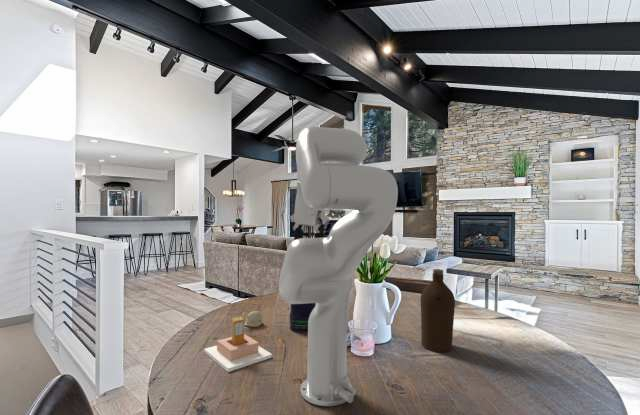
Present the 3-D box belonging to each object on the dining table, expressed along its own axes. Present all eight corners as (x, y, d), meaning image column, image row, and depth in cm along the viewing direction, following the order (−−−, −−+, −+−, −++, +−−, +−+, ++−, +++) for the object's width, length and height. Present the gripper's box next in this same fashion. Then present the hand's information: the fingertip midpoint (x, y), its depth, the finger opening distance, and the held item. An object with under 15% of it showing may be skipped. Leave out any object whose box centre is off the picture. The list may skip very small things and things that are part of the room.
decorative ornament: (265, 324, 128) (265, 310, 128) (243, 329, 123) (243, 314, 123) (260, 321, 131) (260, 307, 131) (239, 325, 126) (240, 311, 126)
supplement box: (230, 350, 103) (231, 317, 102) (242, 348, 104) (242, 316, 104) (233, 355, 100) (233, 321, 99) (244, 352, 101) (245, 319, 101)
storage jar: (285, 331, 121) (286, 289, 121) (294, 322, 131) (294, 283, 131) (312, 334, 119) (312, 291, 119) (319, 324, 128) (319, 285, 128)
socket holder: (271, 357, 101) (272, 344, 101) (228, 372, 91) (228, 357, 91) (245, 340, 113) (245, 328, 113) (204, 352, 103) (204, 339, 103)
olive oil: (461, 351, 107) (462, 272, 107) (431, 354, 104) (432, 273, 104) (441, 338, 117) (442, 266, 117) (413, 341, 115) (415, 267, 114)
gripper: (337, 188, 100) (336, 246, 100) (301, 189, 113) (300, 241, 113) (318, 187, 95) (317, 248, 95) (282, 188, 108) (281, 242, 108)
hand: (308, 244), depth 104 cm, fingers open, 9 cm apart
